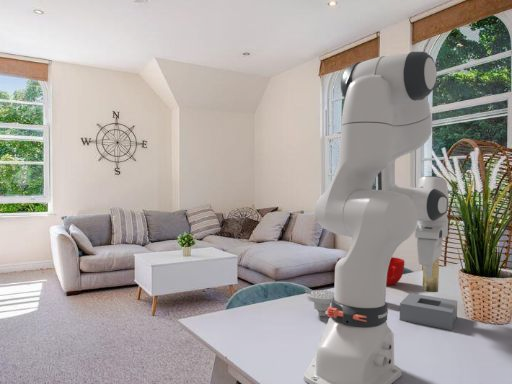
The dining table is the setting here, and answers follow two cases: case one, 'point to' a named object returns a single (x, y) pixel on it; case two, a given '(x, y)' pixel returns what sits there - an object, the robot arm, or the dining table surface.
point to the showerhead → (320, 300)
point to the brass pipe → (432, 282)
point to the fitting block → (429, 311)
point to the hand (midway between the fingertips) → (430, 275)
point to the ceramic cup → (395, 271)
